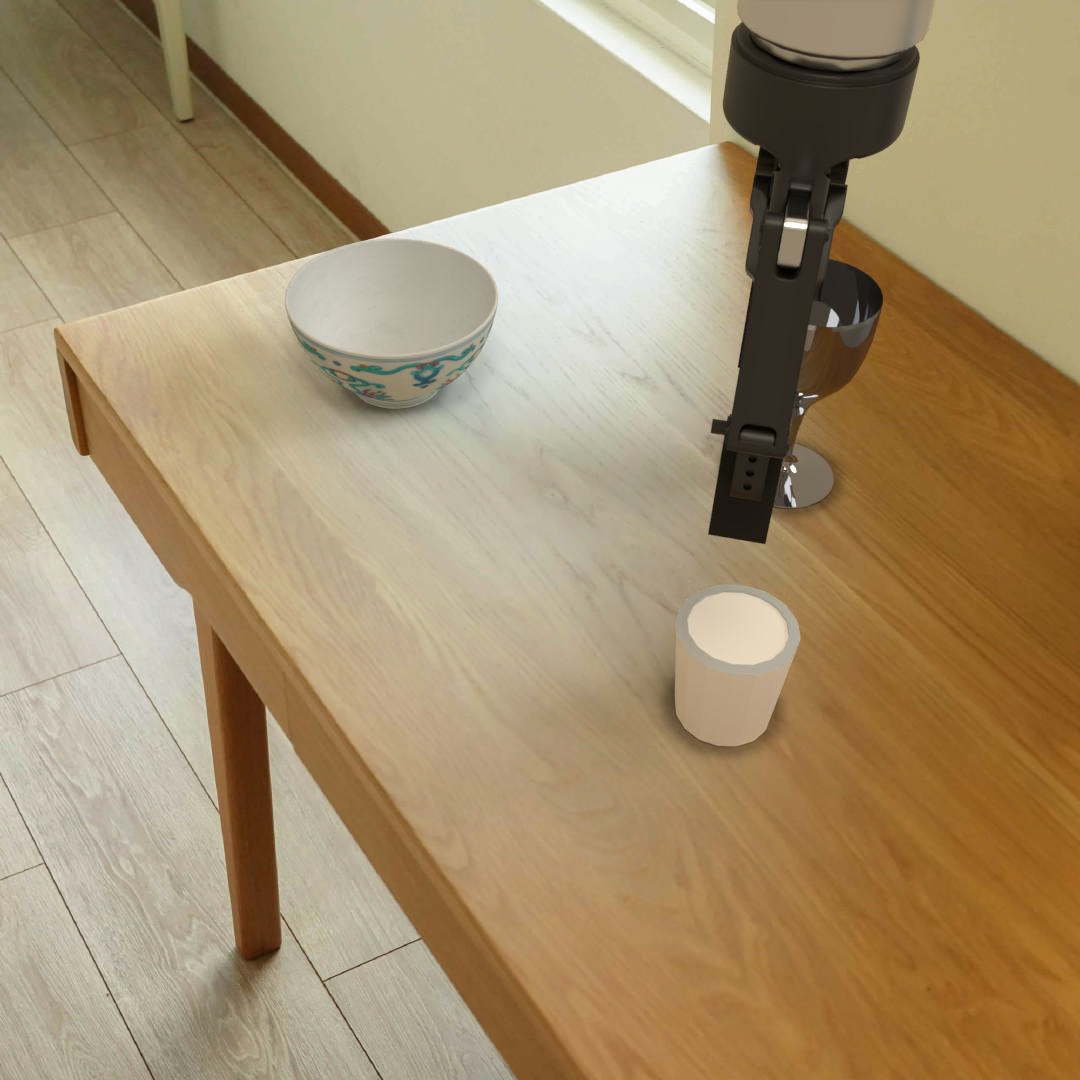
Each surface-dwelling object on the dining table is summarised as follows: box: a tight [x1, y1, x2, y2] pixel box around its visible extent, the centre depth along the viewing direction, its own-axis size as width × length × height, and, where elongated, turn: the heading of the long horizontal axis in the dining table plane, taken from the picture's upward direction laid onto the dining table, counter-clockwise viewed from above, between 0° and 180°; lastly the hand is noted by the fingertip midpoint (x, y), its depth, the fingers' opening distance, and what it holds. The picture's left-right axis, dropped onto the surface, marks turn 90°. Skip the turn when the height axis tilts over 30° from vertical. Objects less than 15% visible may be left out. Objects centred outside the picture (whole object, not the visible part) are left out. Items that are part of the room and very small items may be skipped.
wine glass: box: [773, 258, 884, 509], centre depth 89 cm, size 8×8×15 cm
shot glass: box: [674, 583, 802, 747], centre depth 76 cm, size 7×7×7 cm
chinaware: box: [284, 238, 499, 410], centre depth 98 cm, size 15×15×8 cm
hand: (751, 445), depth 68 cm, fingers open, 13 cm apart
